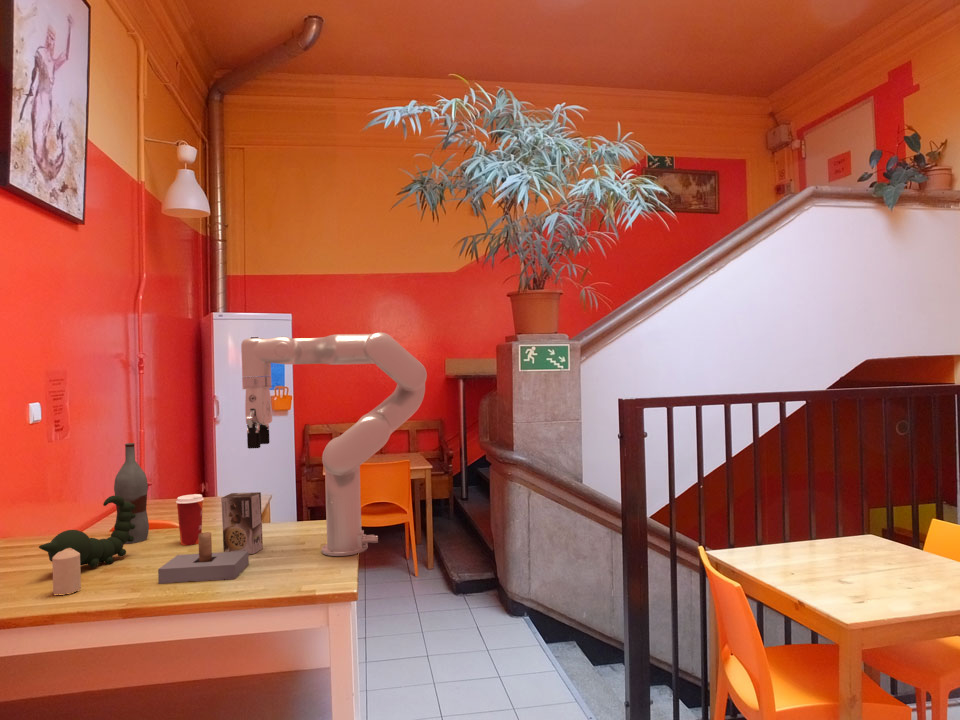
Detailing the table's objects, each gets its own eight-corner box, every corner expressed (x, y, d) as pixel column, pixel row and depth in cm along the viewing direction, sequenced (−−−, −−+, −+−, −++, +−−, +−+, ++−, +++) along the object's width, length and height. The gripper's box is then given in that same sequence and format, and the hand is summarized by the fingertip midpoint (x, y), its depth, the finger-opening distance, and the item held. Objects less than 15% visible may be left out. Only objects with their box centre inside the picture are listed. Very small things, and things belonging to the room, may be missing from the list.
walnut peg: (213, 571, 163) (213, 532, 163) (209, 575, 160) (208, 535, 160) (201, 571, 162) (201, 532, 163) (197, 575, 160) (196, 535, 160)
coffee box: (263, 548, 183) (262, 491, 183) (253, 554, 177) (251, 496, 177) (233, 548, 184) (231, 492, 184) (222, 554, 178) (220, 496, 178)
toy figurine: (117, 559, 182) (25, 579, 160) (121, 492, 184) (30, 502, 162) (140, 562, 179) (48, 583, 156) (144, 494, 180) (53, 504, 158)
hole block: (248, 564, 168) (248, 550, 168) (234, 579, 156) (234, 564, 156) (177, 568, 166) (177, 554, 166) (158, 583, 154) (158, 569, 154)
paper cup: (210, 541, 193) (209, 494, 193) (186, 547, 186) (185, 499, 187) (194, 538, 197) (193, 493, 197) (171, 544, 191) (170, 497, 191)
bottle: (108, 544, 194) (105, 445, 194) (130, 536, 202) (128, 441, 203) (134, 545, 192) (131, 445, 192) (156, 537, 200) (153, 441, 201)
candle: (61, 588, 153) (60, 547, 153) (85, 587, 154) (84, 545, 154) (48, 596, 148) (47, 553, 148) (73, 595, 148) (71, 552, 148)
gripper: (262, 383, 166) (264, 449, 166) (278, 382, 183) (280, 441, 183) (233, 384, 166) (235, 450, 165) (251, 383, 183) (253, 443, 183)
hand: (258, 446), depth 174 cm, fingers open, 9 cm apart
